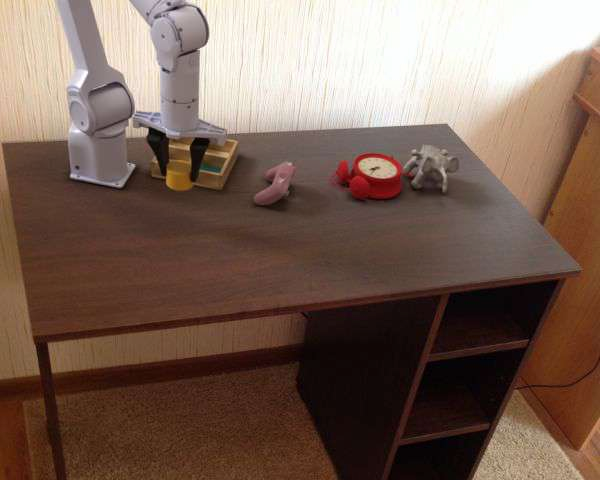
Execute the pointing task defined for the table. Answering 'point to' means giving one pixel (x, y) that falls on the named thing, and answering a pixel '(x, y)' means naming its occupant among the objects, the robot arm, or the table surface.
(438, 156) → the gray elephant figurine
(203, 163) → the grid
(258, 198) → the pink curved piece
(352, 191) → the alarm clock
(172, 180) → the yellow cylinder
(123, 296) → the table surface
